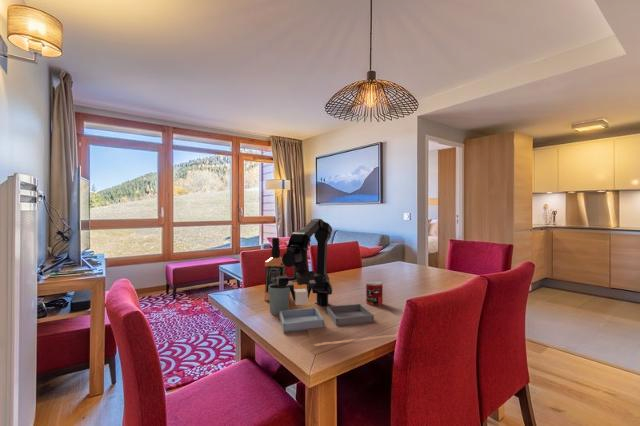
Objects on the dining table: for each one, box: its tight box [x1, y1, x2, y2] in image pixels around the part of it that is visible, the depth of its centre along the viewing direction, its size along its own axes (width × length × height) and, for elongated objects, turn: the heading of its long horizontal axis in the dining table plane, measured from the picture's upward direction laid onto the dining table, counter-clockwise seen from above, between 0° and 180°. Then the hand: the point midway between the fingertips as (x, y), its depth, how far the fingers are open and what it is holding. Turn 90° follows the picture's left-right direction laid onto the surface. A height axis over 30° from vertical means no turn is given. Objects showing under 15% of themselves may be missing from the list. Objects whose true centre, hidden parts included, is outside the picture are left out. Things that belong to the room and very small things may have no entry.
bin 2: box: [326, 303, 375, 326], centre depth 126 cm, size 15×16×4 cm
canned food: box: [365, 280, 383, 307], centre depth 144 cm, size 8×8×11 cm
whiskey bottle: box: [263, 237, 287, 302], centre depth 156 cm, size 10×10×32 cm
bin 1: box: [279, 307, 325, 334], centre depth 121 cm, size 15×16×4 cm
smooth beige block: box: [293, 288, 309, 306], centre depth 121 cm, size 5×5×5 cm
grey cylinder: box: [268, 283, 291, 316], centre depth 136 cm, size 10×10×12 cm
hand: (300, 300), depth 121 cm, fingers closed on smooth beige block, 5 cm apart
